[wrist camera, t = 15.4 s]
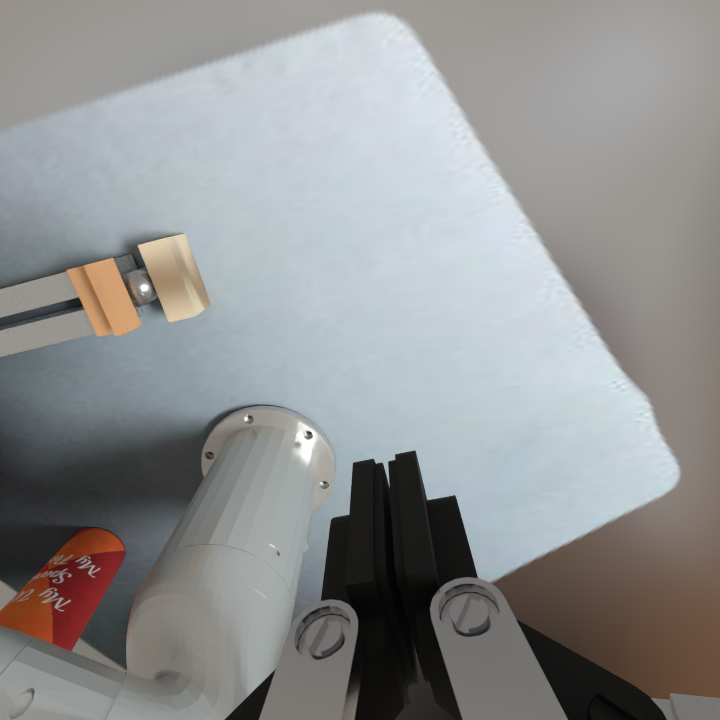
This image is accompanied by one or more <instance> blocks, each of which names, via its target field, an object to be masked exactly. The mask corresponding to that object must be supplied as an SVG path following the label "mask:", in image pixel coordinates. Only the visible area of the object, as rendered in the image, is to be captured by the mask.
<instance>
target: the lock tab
mask: <svg viewBox="0 0 720 720" xmlns="http://www.w3.org/2000/svg"><path fill="white" fill-rule="evenodd" d="M67 272H68V275H69V277H70V279H71V281H72V283H73V285H74V287H75V290H76V292H77V294H78V296H79V298H80V300H81V302H82V304H83V307H84V309H85V311H86V313H87V315H88V317H89V319H90V322H91V324H92V326H93V328H94V330H95V332H96V334H97V336H98V337H100V336H104V335H108V334H112V333H114V334H115V336H119V335H123V334H126V333H128V332H130V331H132V330H133V329H135V328H137V327H138V326H140V325H141V322H140V320H139V318H138V315H137V313H136V311H135V308H134V306H133V304H132V301H131V299H130V297H129V294H128V292H127V290H126V287H125V285H124V283H123V280H122V278H121V276H120V273H119V271H118V269H117V266H116V264H115V262H114V259H113V258H110V259H106V260H102V261H98V262H95V263H91V264H87V265H83V266H79V267H75V268H72V269H68V270H67Z"/></svg>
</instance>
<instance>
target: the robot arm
mask: <svg viewBox="0 0 720 720" xmlns="http://www.w3.org/2000/svg"><path fill="white" fill-rule="evenodd" d="M249 415H250V416H252V417H250V416H249ZM308 431H310V432H308ZM388 465H389V482H390V488H389V484H388V480H387V476H386V473H385V469H384V465H383V463H378V464H376V463H375V461H374V459H370V460H365V461H359V462H354V463H353V471H352V486H351V500H350V515H346V516H340V517H335V518H332V520H331V524H330V532H329V540H328V548H327V556H326V564H325V572H324V580H323V589H322V597H321V601H320V602H317V603H315V604H313V605H311V606H309V607H308V608H307V609H305V610H304V611H303V612H301V613H300V614H299V616H298V617H297V618H296V619H295V620H294V622H293V624H292V626H291V628H290V624H291V619H292V614H293V609H294V604H295V598H296V593H297V588H298V582H299V577H300V571H301V566H302V561H303V555H304V552H305V551H306V550H307V549H308V547H309V545H308V542H307V534H308V529H309V523H310V518H311V513H313V512H314V511H315V510H316V509H318V508H319V507H320V506H321V505H322V504H323V502H324V501H325V500H326V499H327V497H328V495H329V493H330V491H331V490H332V486H333V482H334V478H335V469H336V468H335V457H334V454H333V451H332V447H331V445H330V444H329V442H328V440H327V438H326V436H325V435H324V434H323V433H322V432H321V430H320V429H319V428H318V427H317V426H316V425H314V424H313V423H312V422H311V421H310V420H308V419H307V418H305V417H303V416H301V415H300V414H298V413H296V412H293V411H290V410H288V409H285V408H280V407H274V406H254V407H248V408H244V409H241V410H238V411H236V412H233V413H232V414H230V415H228V416H227V417H225V418H223V419H222V420H221V421H220V422H219V423H218V424H217V425H216V426H215V427H214V429H213V430H212V432H211V433H210V434H209V436H208V438H207V440H206V442H205V444H204V446H203V450H202V453H201V469H202V474H203V478H204V479H203V481H202V483H201V484H200V486H199V488H198V489H197V491H196V493H195V495H194V496H193V498H192V500H191V502H190V503H189V505H188V507H187V508H186V510H185V512H184V514H183V515H182V517H181V519H180V521H179V522H178V524H177V526H176V527H175V529H174V531H173V533H172V534H171V536H170V538H169V540H168V541H167V543H166V545H165V546H164V548H163V550H162V552H161V553H160V555H159V557H158V558H157V560H156V562H155V564H154V565H153V567H152V569H151V570H150V572H149V573H148V575H147V577H146V578H145V580H144V582H143V584H142V586H141V588H140V589H139V591H138V593H137V596H136V598H135V600H134V603H133V606H132V610H131V613H130V617H129V623H128V629H127V639H126V658H127V671H128V672H125V673H124V672H121V671H119V670H117V669H114V668H111V667H109V666H107V665H104V664H101V663H99V662H97V661H94V660H92V659H89V658H87V657H84V656H82V655H79V654H77V653H74V652H72V651H69V650H67V649H64V648H62V647H59V646H57V645H54V644H52V643H49V642H47V641H44V640H42V639H39V638H36V637H33V636H30V635H28V634H25V633H23V632H20V631H17V630H14V629H11V628H7V627H4V626H1V625H0V720H395V718H396V717H397V716H398V715H399V713H400V712H401V711H402V709H403V708H404V704H410V703H411V700H410V687H409V685H414V684H417V683H418V675H417V664H416V655H415V648H416V652H417V655H418V659H419V662H420V666H421V670H422V673H423V676H424V680H425V682H426V683H428V682H430V684H431V688H432V691H433V695H434V698H435V702H436V703H437V704H438V705H439V706H440V707H441V708H443V709H444V710H445V711H446V712H448V713H449V714H450V715H451V716H452V717H454V718H455V719H456V720H720V698H711V697H702V696H692V695H691V696H690V695H682V694H672V693H671V694H670V700H664V699H655V698H650V697H649V696H648V695H646V694H645V693H644V692H642V691H641V690H639V689H638V688H637V687H635V686H633V685H632V684H630V683H628V682H627V681H625V680H623V679H621V678H620V677H618V676H616V675H614V674H612V673H610V672H609V671H607V670H605V669H603V668H602V667H600V666H598V665H597V664H594V663H593V662H591V661H589V660H588V659H586V658H584V657H582V656H581V655H579V654H577V653H575V652H573V651H572V650H570V649H568V648H566V647H565V646H562V645H561V644H559V643H557V642H556V641H554V640H552V639H550V638H549V637H547V636H545V635H543V634H541V633H540V632H538V631H536V630H534V629H533V628H531V627H529V626H527V625H526V624H524V623H522V622H520V621H518V620H517V619H515V617H514V615H513V613H512V611H511V609H510V607H509V605H508V603H507V601H506V599H505V597H504V596H503V595H502V594H501V592H500V591H499V589H498V588H496V587H495V586H493V585H492V584H491V583H489V582H487V581H484V580H482V579H479V578H478V576H477V573H476V569H475V565H474V562H473V558H472V554H471V551H470V547H469V543H468V540H467V536H466V532H465V529H464V525H463V521H462V518H461V514H460V510H459V507H458V503H457V499H456V496H455V495H454V496H449V497H444V498H438V499H433V500H427V498H426V493H425V489H424V485H423V481H422V476H421V472H420V468H419V463H418V459H417V455H416V451H410V452H405V453H400V454H395V460H393V461H389V462H388Z"/></svg>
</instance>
